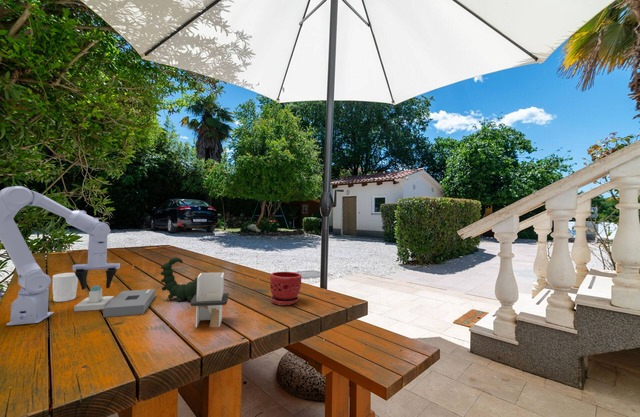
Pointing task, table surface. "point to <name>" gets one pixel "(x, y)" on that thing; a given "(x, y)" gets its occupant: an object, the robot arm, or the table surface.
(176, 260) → the toy figurine
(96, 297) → the plug
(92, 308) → the square frame
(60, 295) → the white cup
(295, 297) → the plant pot
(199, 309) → the white grey toy chair
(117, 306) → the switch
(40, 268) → the robot arm
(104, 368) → the table surface
